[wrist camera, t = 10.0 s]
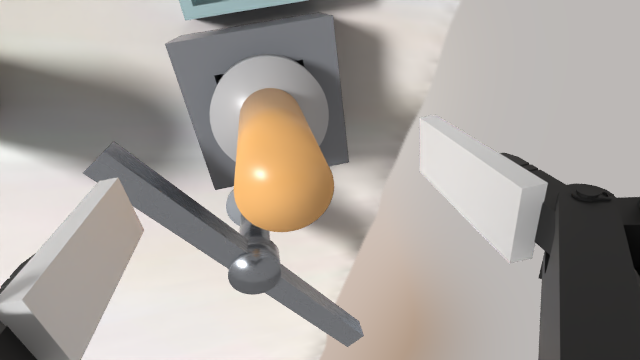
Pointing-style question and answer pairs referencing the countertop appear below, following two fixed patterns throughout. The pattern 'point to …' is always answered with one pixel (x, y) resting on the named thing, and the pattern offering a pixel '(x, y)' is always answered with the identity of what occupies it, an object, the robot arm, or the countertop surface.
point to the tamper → (274, 141)
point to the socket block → (244, 41)
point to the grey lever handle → (224, 243)
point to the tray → (224, 6)
